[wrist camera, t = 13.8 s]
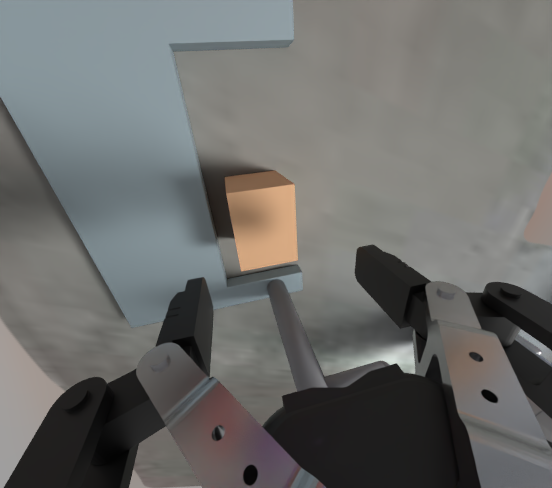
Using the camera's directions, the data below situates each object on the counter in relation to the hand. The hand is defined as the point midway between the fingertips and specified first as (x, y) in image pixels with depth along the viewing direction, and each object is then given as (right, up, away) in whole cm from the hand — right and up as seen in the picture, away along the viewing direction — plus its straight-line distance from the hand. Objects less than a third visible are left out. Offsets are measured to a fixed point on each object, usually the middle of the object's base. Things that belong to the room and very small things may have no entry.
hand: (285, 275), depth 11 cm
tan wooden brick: (-3, +5, +9) cm, 11 cm away
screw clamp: (-6, +6, +8) cm, 12 cm away
